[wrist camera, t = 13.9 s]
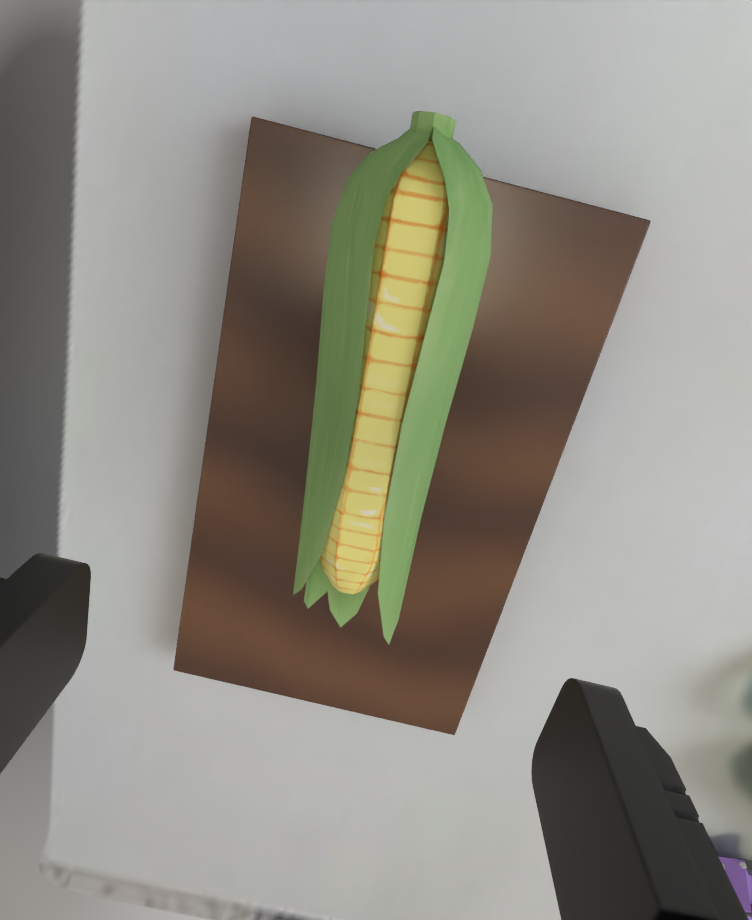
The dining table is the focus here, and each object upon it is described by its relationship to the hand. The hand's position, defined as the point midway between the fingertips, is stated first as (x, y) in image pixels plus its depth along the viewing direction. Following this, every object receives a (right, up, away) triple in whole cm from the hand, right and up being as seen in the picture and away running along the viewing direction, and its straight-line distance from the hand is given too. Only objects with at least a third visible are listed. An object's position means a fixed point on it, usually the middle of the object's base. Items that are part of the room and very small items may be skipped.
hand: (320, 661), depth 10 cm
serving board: (+1, +3, +16) cm, 16 cm away
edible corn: (+1, +5, +14) cm, 15 cm away
